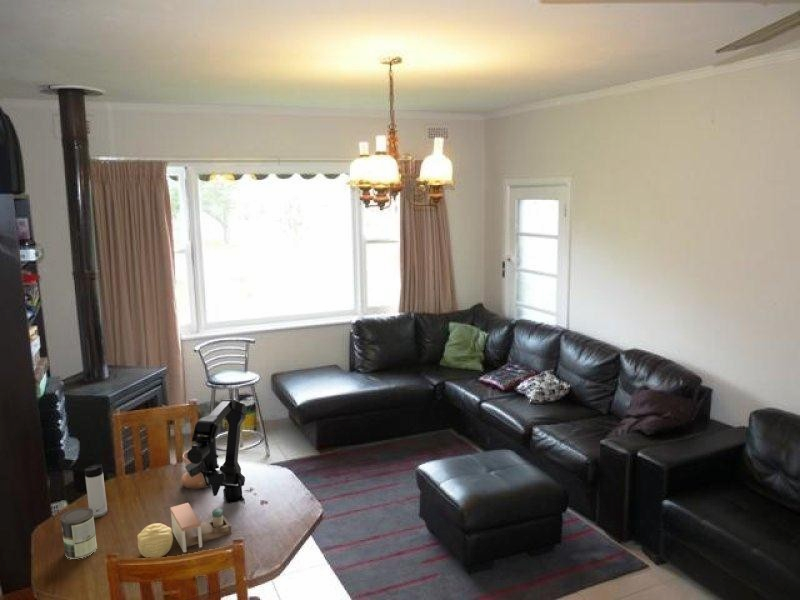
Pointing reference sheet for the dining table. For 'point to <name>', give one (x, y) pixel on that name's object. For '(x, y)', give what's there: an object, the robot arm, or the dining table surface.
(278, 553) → the dining table surface
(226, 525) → the socket block
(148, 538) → the sculpture
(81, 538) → the coffee can
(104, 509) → the travel mug
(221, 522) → the peg
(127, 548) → the dining table surface
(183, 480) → the ceramic jug
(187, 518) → the footed pink board
